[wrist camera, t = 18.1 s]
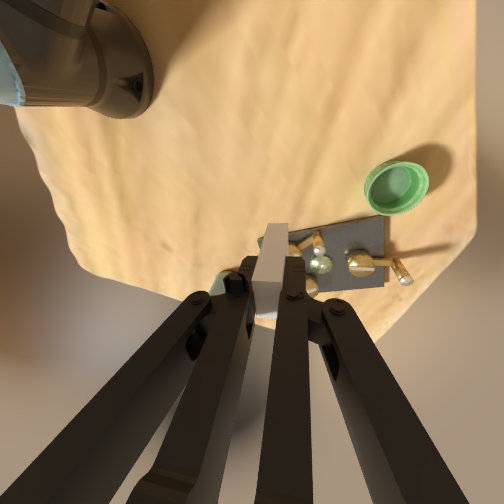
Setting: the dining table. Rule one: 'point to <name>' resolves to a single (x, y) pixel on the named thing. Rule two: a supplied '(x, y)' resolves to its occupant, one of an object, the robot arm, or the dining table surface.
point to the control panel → (343, 253)
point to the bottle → (218, 284)
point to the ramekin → (396, 187)
